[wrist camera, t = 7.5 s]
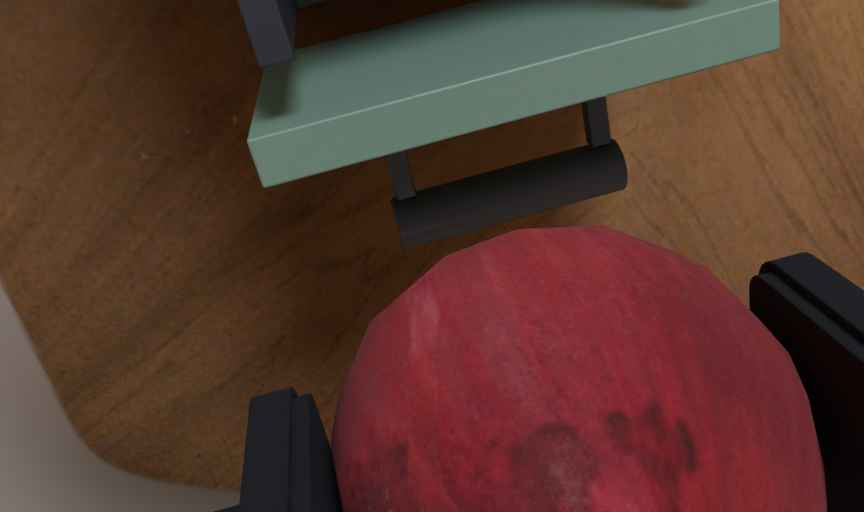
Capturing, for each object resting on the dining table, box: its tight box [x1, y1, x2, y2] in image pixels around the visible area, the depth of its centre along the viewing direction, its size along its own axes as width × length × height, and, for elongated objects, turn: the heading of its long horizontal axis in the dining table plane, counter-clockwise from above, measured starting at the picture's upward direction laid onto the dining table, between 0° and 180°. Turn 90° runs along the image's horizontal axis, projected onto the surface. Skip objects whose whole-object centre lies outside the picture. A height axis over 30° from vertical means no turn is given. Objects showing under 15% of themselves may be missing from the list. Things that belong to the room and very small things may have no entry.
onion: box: [331, 226, 827, 512], centre depth 9 cm, size 6×6×8 cm
